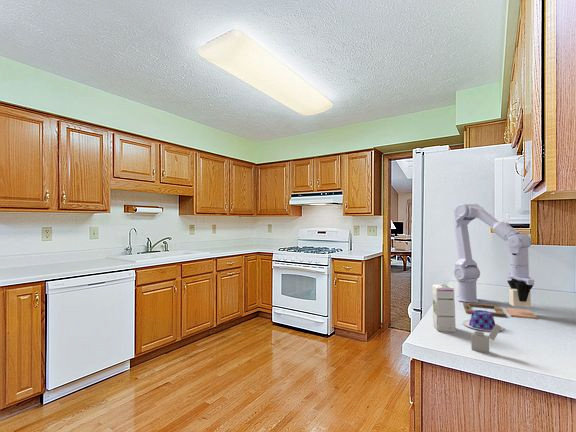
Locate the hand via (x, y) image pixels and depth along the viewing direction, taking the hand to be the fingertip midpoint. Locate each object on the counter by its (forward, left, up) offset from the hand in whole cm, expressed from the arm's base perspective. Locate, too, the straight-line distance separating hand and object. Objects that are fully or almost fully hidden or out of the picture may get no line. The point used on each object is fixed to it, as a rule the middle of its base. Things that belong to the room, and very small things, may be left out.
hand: (520, 300), depth 122 cm
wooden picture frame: (0, -13, -5) cm, 14 cm away
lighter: (+46, -18, -6) cm, 49 cm away
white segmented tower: (+30, -28, -6) cm, 41 cm away
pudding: (+22, -15, -6) cm, 27 cm away
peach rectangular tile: (0, 0, -5) cm, 5 cm away
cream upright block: (0, 0, -2) cm, 2 cm away
